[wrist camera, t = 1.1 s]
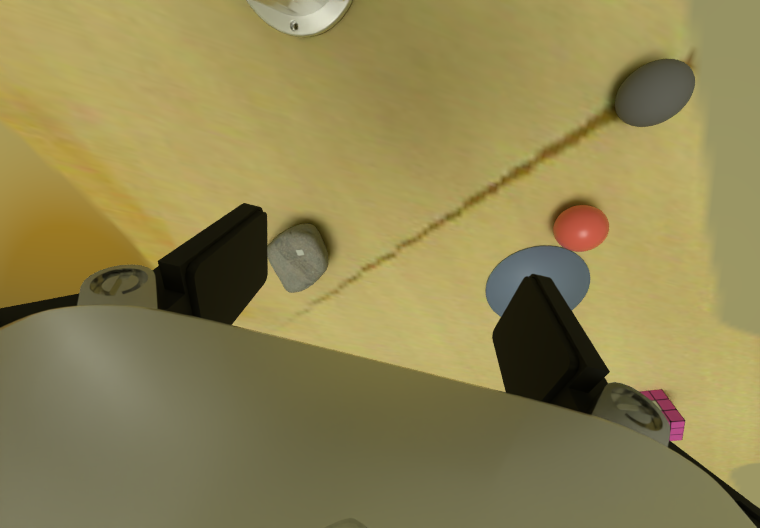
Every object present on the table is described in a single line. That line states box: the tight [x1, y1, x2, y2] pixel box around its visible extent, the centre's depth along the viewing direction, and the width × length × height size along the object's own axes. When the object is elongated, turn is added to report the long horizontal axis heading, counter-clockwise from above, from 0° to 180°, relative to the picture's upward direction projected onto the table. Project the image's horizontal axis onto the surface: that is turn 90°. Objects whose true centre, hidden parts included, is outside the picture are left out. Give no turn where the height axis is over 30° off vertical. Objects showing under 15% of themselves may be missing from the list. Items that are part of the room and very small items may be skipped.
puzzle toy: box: [640, 389, 685, 441], centre depth 51 cm, size 6×6×6 cm
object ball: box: [553, 205, 609, 252], centre depth 36 cm, size 6×6×6 cm
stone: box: [267, 223, 328, 293], centre depth 43 cm, size 9×9×10 cm
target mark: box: [486, 246, 590, 316], centre depth 44 cm, size 14×14×1 cm
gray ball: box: [615, 59, 695, 127], centre depth 28 cm, size 6×6×6 cm
